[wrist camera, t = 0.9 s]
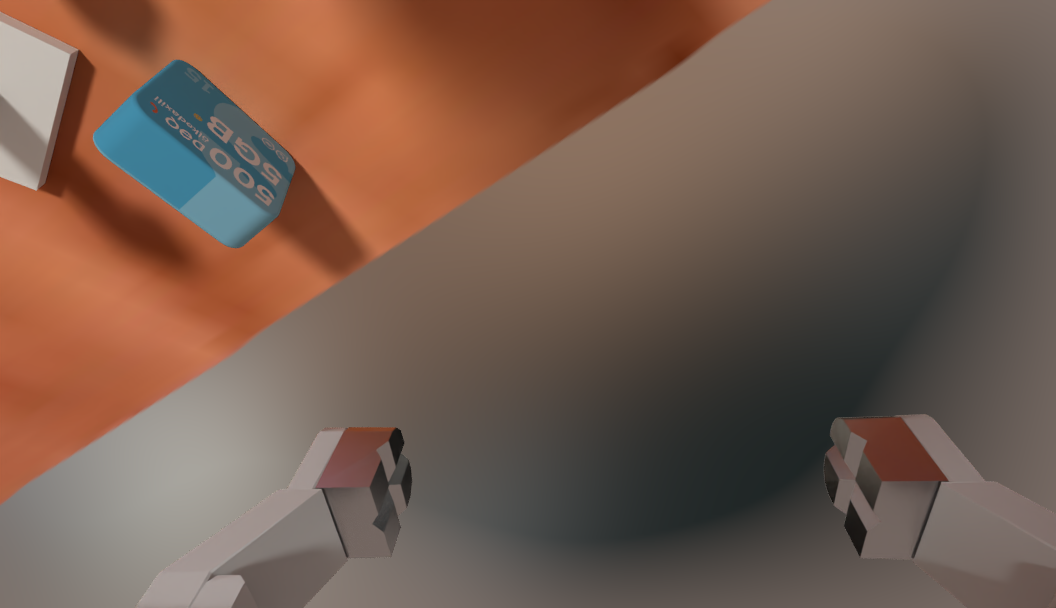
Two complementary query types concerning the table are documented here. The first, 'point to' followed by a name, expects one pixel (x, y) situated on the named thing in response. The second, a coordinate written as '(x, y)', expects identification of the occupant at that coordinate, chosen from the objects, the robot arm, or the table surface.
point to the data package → (199, 154)
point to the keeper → (31, 99)
